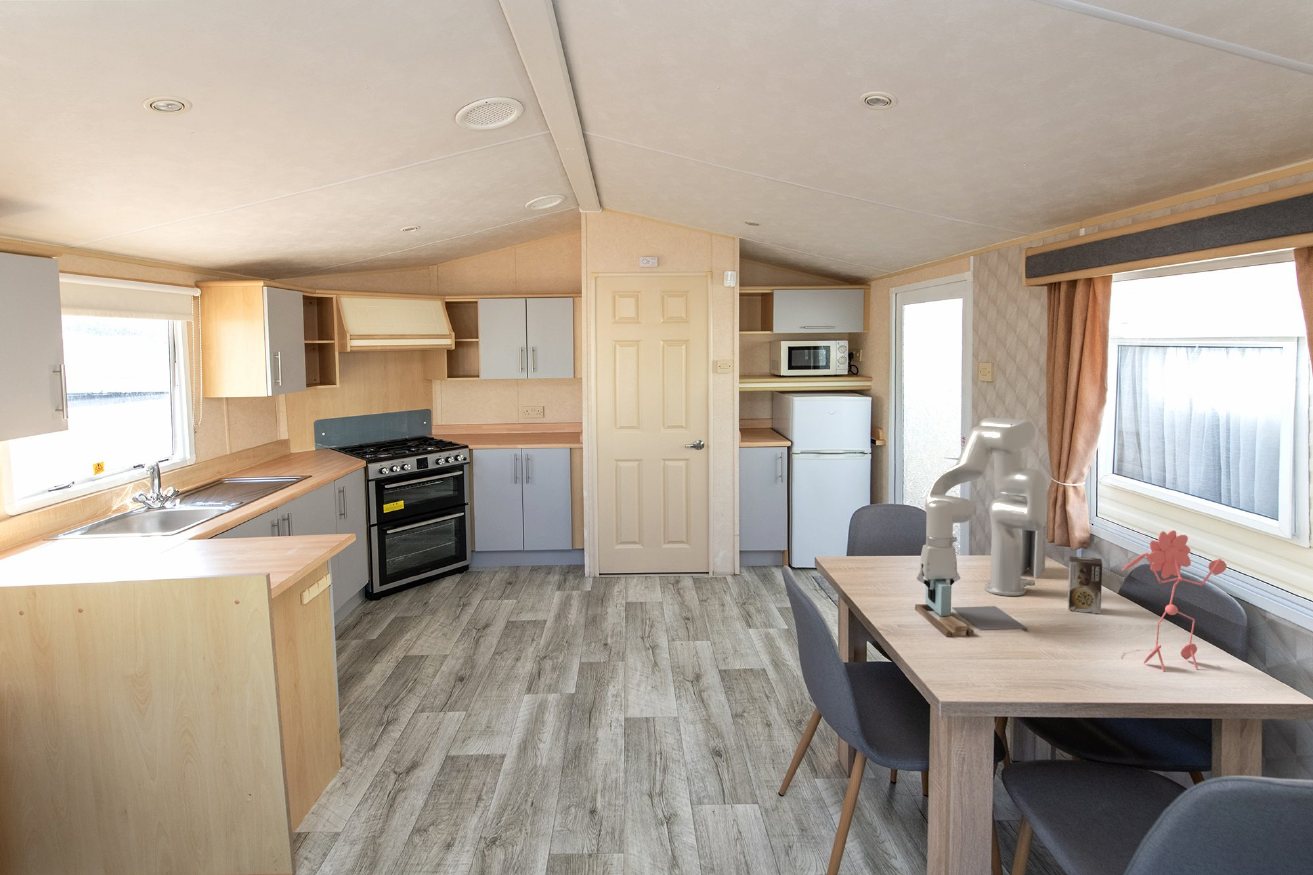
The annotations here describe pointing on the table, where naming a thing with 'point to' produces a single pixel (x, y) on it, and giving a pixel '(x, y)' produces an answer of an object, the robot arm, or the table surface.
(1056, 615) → the table surface
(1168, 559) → the figurine
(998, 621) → the mat
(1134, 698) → the table surface
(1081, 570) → the coffee box
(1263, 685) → the table surface
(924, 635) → the table surface
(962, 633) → the block
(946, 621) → the offcut top
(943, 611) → the teal rectangular block
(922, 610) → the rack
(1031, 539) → the grey upright slab
